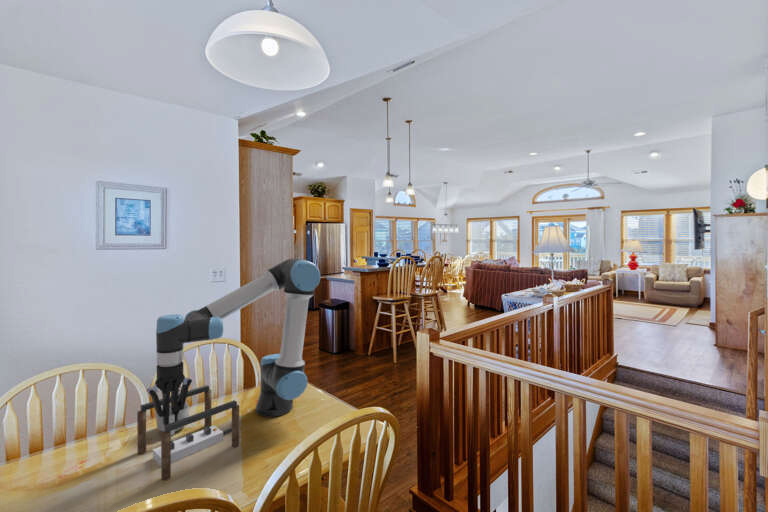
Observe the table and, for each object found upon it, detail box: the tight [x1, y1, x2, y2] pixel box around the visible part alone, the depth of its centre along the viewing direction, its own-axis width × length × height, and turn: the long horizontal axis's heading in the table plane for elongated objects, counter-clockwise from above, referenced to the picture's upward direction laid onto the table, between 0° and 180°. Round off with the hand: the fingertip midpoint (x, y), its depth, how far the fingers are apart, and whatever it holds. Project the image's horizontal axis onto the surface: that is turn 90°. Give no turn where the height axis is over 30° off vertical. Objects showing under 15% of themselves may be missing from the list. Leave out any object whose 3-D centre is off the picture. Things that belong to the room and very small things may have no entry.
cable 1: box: [140, 384, 210, 411], centre depth 127 cm, size 22×2×2 cm, turn 142°
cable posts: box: [136, 388, 240, 482], centre depth 121 cm, size 24×22×14 cm
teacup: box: [155, 400, 190, 433], centre depth 135 cm, size 14×11×8 cm
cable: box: [165, 399, 238, 432], centre depth 114 cm, size 22×2×2 cm, turn 142°
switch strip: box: [152, 425, 232, 468], centre depth 123 cm, size 26×7×5 cm, turn 142°
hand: (170, 433), depth 116 cm, fingers closed
